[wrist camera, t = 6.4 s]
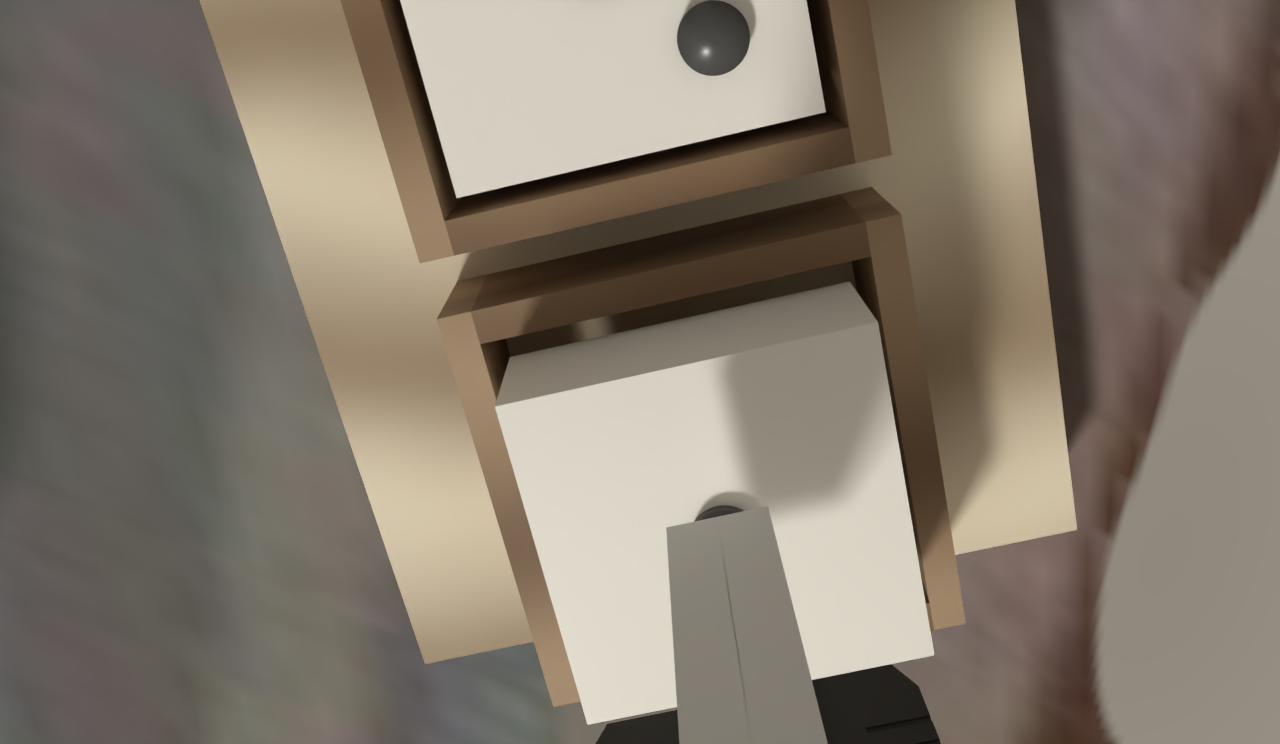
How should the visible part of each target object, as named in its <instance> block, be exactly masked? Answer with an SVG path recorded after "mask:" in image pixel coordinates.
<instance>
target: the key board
mask: <svg viewBox="0 0 1280 744" xmlns="http://www.w3.org/2000/svg"><path fill="white" fill-rule="evenodd" d="M199 1H200V4H201V6H202V9H203V12H204V15H205V18H206V21H207V24H208V27H209V30H210V33H211V36H212V39H213V42H214V45H215V48H216V51H217V53H218V56H219V59H220V62H221V65H222V68H223V71H224V74H225V77H226V80H227V83H228V86H229V89H230V92H231V95H232V98H233V101H234V103H235V106H236V109H237V112H238V115H239V118H240V121H241V124H242V127H243V130H244V133H245V136H246V139H247V142H248V145H249V148H250V151H251V153H252V156H253V159H254V162H255V165H256V168H257V171H258V174H259V177H260V180H261V183H262V186H263V189H264V192H265V195H266V198H267V201H268V203H269V206H270V209H271V212H272V215H273V218H274V221H275V224H276V227H277V230H278V233H279V236H280V239H281V242H282V245H283V248H284V251H285V253H286V256H287V259H288V262H289V265H290V268H291V271H292V274H293V277H294V280H295V283H296V286H297V289H298V292H299V295H300V298H301V300H302V303H303V306H304V309H305V312H306V315H307V318H308V321H309V324H310V327H311V330H312V333H313V336H314V339H315V342H316V345H317V348H318V350H319V353H320V356H321V359H322V362H323V365H324V368H325V371H326V374H327V377H328V380H329V383H330V386H331V389H332V392H333V395H334V398H335V400H336V403H337V406H338V409H339V412H340V415H341V418H342V421H343V424H344V427H345V430H346V433H347V436H348V439H349V442H350V445H351V448H352V450H353V453H354V456H355V459H356V462H357V465H358V468H359V471H360V474H361V477H362V480H363V483H364V486H365V489H366V492H367V495H368V498H369V500H370V503H371V506H372V509H373V512H374V515H375V518H376V521H377V524H378V527H379V530H380V533H381V536H382V539H383V542H384V545H385V547H386V550H387V553H388V556H389V559H390V562H391V565H392V568H393V571H394V574H395V577H396V580H397V583H398V586H399V589H400V592H401V595H402V597H403V600H404V603H405V606H406V609H407V612H408V615H409V618H410V621H411V624H412V627H413V630H414V633H415V636H416V639H417V642H418V645H419V647H420V650H421V653H422V656H423V659H424V662H425V664H427V663H432V662H437V661H442V660H447V659H452V658H456V657H461V656H466V655H471V654H476V653H481V652H486V651H490V650H495V649H500V648H505V647H510V646H515V645H520V644H524V643H529V642H534V644H535V647H536V651H537V654H538V657H539V661H540V664H541V667H542V671H543V674H544V677H545V681H546V684H547V687H548V690H549V694H550V697H551V700H552V704H553V707H555V706H560V705H565V704H570V703H575V702H580V701H581V700H580V697H579V694H578V690H577V687H576V683H575V680H574V676H573V673H572V670H571V666H570V663H569V659H568V656H567V652H566V649H565V646H564V642H563V639H562V635H561V632H560V628H559V625H558V622H557V618H556V615H555V611H554V608H553V604H552V601H551V598H550V594H549V591H548V587H547V584H546V581H545V577H544V574H543V570H542V567H541V563H540V560H539V557H538V553H537V550H536V546H535V543H534V539H533V536H532V533H531V529H530V526H529V522H528V519H527V515H526V512H525V509H524V505H523V502H522V498H521V495H520V491H519V488H518V485H517V481H516V478H515V474H514V471H513V467H512V464H511V461H510V457H509V454H508V450H507V447H506V443H505V440H504V437H503V433H502V430H501V426H500V423H499V419H498V416H497V413H496V409H495V404H496V401H497V398H498V394H499V391H500V388H501V384H502V381H503V378H504V375H505V371H506V368H507V365H508V361H509V358H510V357H512V356H517V355H521V354H526V353H530V352H535V351H539V350H544V349H548V348H553V347H557V346H562V345H566V344H571V343H575V342H580V341H584V340H589V339H593V338H598V337H602V336H606V335H611V334H615V333H620V332H624V331H629V330H633V329H638V328H642V327H647V326H651V325H656V324H660V323H665V322H669V321H674V320H678V319H683V318H687V317H692V316H696V315H701V314H705V313H710V312H714V311H719V310H723V309H728V308H732V307H737V306H741V305H746V304H750V303H754V302H759V301H763V300H768V299H772V298H777V297H781V296H786V295H790V294H795V293H799V292H804V291H808V290H813V289H817V288H822V287H826V286H831V285H835V284H840V283H844V282H849V281H850V283H851V284H852V285H853V287H854V288H855V290H856V291H857V293H858V294H859V296H860V297H861V298H862V300H863V301H864V303H865V304H866V306H867V307H868V309H869V310H870V311H871V313H872V314H873V316H874V317H875V319H876V320H877V322H878V325H879V331H880V337H881V343H882V349H883V355H884V361H885V367H886V373H887V378H888V384H889V390H890V396H891V402H892V408H893V414H894V420H895V426H896V431H897V437H898V443H899V449H900V455H901V461H902V467H903V473H904V479H905V485H906V490H907V496H908V502H909V508H910V514H911V520H912V526H913V532H914V538H915V543H916V549H917V555H918V561H919V567H920V573H921V579H922V585H923V591H924V597H925V602H926V608H927V614H928V620H929V626H930V631H932V630H937V629H942V628H947V627H952V626H957V625H962V624H966V622H965V615H964V609H963V603H962V596H961V590H960V584H959V577H958V571H957V565H956V558H955V555H957V554H962V553H967V552H971V551H976V550H981V549H986V548H991V547H996V546H1001V545H1005V544H1010V543H1015V542H1020V541H1025V540H1030V539H1035V538H1039V537H1044V536H1049V535H1054V534H1059V533H1064V532H1069V531H1073V530H1077V526H1076V517H1075V508H1074V500H1073V491H1072V483H1071V474H1070V466H1069V457H1068V449H1067V440H1066V432H1065V423H1064V415H1063V406H1062V398H1061V389H1060V381H1059V372H1058V364H1057V355H1056V347H1055V338H1054V330H1053V321H1052V312H1051V304H1050V295H1049V287H1048V278H1047V270H1046V261H1045V253H1044V244H1043V236H1042V227H1041V219H1040V210H1039V202H1038V193H1037V185H1036V176H1035V168H1034V159H1033V151H1032V142H1031V133H1030V125H1029V116H1028V108H1027V99H1026V91H1025V82H1024V74H1023V65H1022V57H1021V48H1020V40H1019V31H1018V23H1017V14H1016V6H1015V0H806V1H807V7H808V12H809V18H810V24H811V30H812V35H813V41H814V47H815V52H816V58H817V64H818V70H819V75H820V81H821V87H822V93H823V98H824V104H825V110H826V112H824V113H820V114H816V115H811V116H807V117H803V118H799V119H794V120H790V121H786V122H781V123H777V124H773V125H769V126H764V127H760V128H756V129H751V130H747V131H743V132H739V133H734V134H730V135H726V136H721V137H717V138H713V139H708V140H704V141H700V142H696V143H691V144H687V145H683V146H678V147H674V148H670V149H666V150H661V151H657V152H653V153H648V154H644V155H640V156H636V157H631V158H627V159H623V160H618V161H614V162H610V163H606V164H601V165H597V166H593V167H588V168H584V169H580V170H575V171H571V172H567V173H563V174H558V175H554V176H550V177H545V178H541V179H537V180H533V181H528V182H524V183H520V184H515V185H511V186H507V187H503V188H498V189H494V190H490V191H485V192H481V193H477V194H473V195H468V196H464V197H460V198H456V194H455V191H454V187H453V184H452V180H451V177H450V173H449V170H448V166H447V163H446V159H445V156H444V152H443V149H442V145H441V142H440V138H439V135H438V131H437V128H436V124H435V121H434V117H433V114H432V110H431V107H430V103H429V100H428V96H427V93H426V89H425V86H424V82H423V79H422V75H421V72H420V68H419V65H418V61H417V58H416V54H415V51H414V47H413V44H412V40H411V37H410V33H409V30H408V26H407V23H406V19H405V16H404V12H403V9H402V5H401V2H400V0H199Z"/></svg>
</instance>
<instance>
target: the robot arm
mask: <svg viewBox="0 0 1280 744" xmlns="http://www.w3.org/2000/svg"><path fill="white" fill-rule="evenodd" d="M666 534H667V550H668V566H669V582H670V599H671V615H672V631H673V648H674V664H675V680H676V696H677V710H675V711H670V712H665V713H660V714H655V715H650V716H645V717H640V718H635V719H630V720H625V721H620V722H615V723H610V724H607V726H606V727H605V729H604V731H603V732H602V734H601V736H600V737H599V739H598V741H597V742H596V744H940V740H939V737H938V734H937V732H936V729H935V727H934V724H933V722H932V721H931V718H930V714H929V712H928V709H927V707H926V704H925V702H924V699H923V697H922V694H921V692H920V689H919V687H918V686H917V685H916V684H915V683H914V682H912V681H911V680H910V679H909V678H907V677H906V676H905V675H904V674H902V673H901V672H900V671H899V670H898V669H896V668H895V667H894V666H893V665H886V666H881V667H876V668H871V669H866V670H861V671H856V672H851V673H846V674H841V675H836V676H831V677H826V678H821V679H816V680H812V679H811V675H810V671H809V667H808V663H807V659H806V655H805V651H804V647H803V643H802V640H801V636H800V632H799V628H798V624H797V620H796V616H795V612H794V608H793V604H792V600H791V596H790V592H789V588H788V584H787V580H786V576H785V572H784V568H783V564H782V560H781V556H780V552H779V548H778V544H777V540H776V536H775V532H774V528H773V525H772V521H771V517H770V513H769V509H768V506H766V507H761V508H757V509H752V510H747V511H742V512H738V513H733V514H728V515H723V516H719V517H714V518H709V519H704V520H700V521H695V522H690V523H685V524H681V525H676V526H671V527H666Z"/></svg>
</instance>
